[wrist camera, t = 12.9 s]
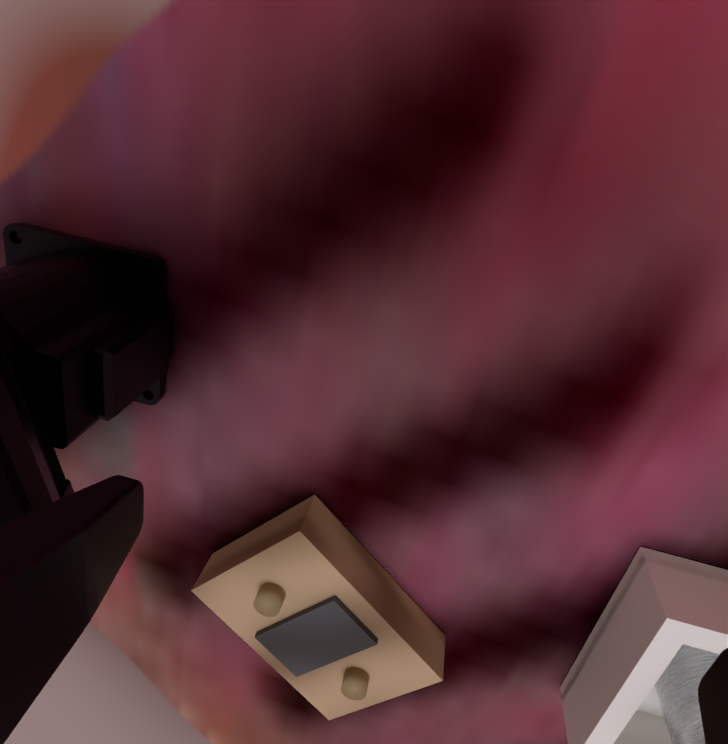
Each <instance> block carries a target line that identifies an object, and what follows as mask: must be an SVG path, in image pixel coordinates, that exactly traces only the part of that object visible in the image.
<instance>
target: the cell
mask: <svg viewBox="0 0 728 744" xmlns="http://www.w3.org/2000/svg"><path fill="white" fill-rule="evenodd" d="M719 655H720V654H717V653H713V652H709V651H706V650H702V649H699V648H695V647H692V646H688V645H684V644H682V646H681V647H680V649H679V650H678V652H677V653H676V655H675V656H674V657H673V659H672V660H671V662H670V663H669V665H668V666H667V667H666V669H665V670H664V672H663V673H662V675H661V676H660V677H659V679H658V680H657V682H656V683H655V688H656V692H657V695H658V699H659V702H660V705H661V709H662V712H663V715H664V719H665V722H666V725H667V729H668V732H669V735H670V739H671V742H672V744H705V738H704V732H703V725H702V719H701V713H700V707H699V700H698V687H699V683H700V681H701V679H702V677H703V676H704V674H705V673H706V672H707V671H708V669H709V668H710V667H711V665H712V664H713V663H714V661H715V660H716V659H717V657H718V656H719Z"/></svg>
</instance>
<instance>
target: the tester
mask: <svg viewBox="0 0 728 744" xmlns="http://www.w3.org/2000/svg"><path fill="white" fill-rule="evenodd" d="M191 591H192V592H193V593H194V594H195V595H196V596H197V597H198V598H200V599H201V600H202V601H203V602H204V603H205V604H206V605H207V606H208V607H209V608H210V609H211V610H212V611H213V612H214V613H216V614H217V615H218V616H219V617H220V618H221V619H222V620H223V621H224V622H225V623H226V624H227V625H228V626H229V627H230V628H231V629H233V630H234V631H235V632H236V633H237V634H238V635H239V636H240V637H241V638H242V639H243V640H244V641H245V642H246V643H247V644H248V645H250V646H251V647H252V648H253V649H254V650H255V651H256V652H257V653H258V654H259V655H260V656H261V657H262V658H263V659H264V660H266V661H267V662H268V663H269V664H270V665H271V666H272V667H273V668H274V669H275V670H276V671H277V672H278V673H279V674H280V675H281V676H283V677H284V678H285V679H286V680H287V681H288V682H289V683H290V684H291V685H292V686H293V687H294V688H295V689H296V690H297V691H299V692H300V693H301V694H302V695H303V696H304V697H305V698H306V699H307V700H308V701H309V702H310V703H311V704H312V705H313V706H314V707H316V708H317V709H318V710H319V711H320V712H321V713H322V714H323V715H324V716H325V717H326V718H327V719H328V720H331V719H334V718H337V717H340V716H343V715H345V714H348V713H351V712H354V711H357V710H360V709H363V708H366V707H368V706H371V705H374V704H377V703H380V702H383V701H386V700H389V699H392V698H394V697H397V696H400V695H403V694H406V693H409V692H412V691H415V690H417V689H420V688H423V687H426V686H429V685H432V684H435V683H438V682H441V681H443V668H444V651H445V635H444V634H443V633H442V631H441V630H440V629H439V628H438V627H437V626H436V625H435V624H434V623H433V622H432V621H431V620H430V619H429V617H428V616H427V615H426V614H425V613H424V612H423V611H422V610H421V609H420V608H419V607H418V606H417V604H416V603H415V602H414V601H413V600H412V599H411V598H410V597H409V596H408V595H407V594H406V593H405V592H404V590H403V589H402V588H401V587H400V586H399V585H398V584H397V583H396V582H395V581H394V580H393V579H392V577H391V576H390V575H389V574H388V573H387V572H386V571H385V570H384V569H383V568H382V567H381V566H380V564H379V563H378V562H377V561H376V560H375V559H374V558H373V557H372V556H371V555H370V554H369V553H368V552H367V550H366V549H365V548H364V547H363V546H362V545H361V544H360V543H359V542H358V541H357V540H356V539H355V537H354V536H353V535H352V534H351V533H350V532H349V531H348V530H347V529H346V528H345V527H344V526H343V525H342V523H341V522H340V521H339V520H338V519H337V518H336V517H335V516H334V515H333V514H332V513H331V512H330V510H329V509H328V508H327V507H326V506H325V505H324V504H323V503H322V502H321V501H320V500H319V499H318V497H317V496H316V495H313V496H311V497H310V498H308V499H306V500H304V501H303V502H301V503H299V504H297V505H296V506H294V507H292V508H290V509H289V510H287V511H285V512H284V513H282V514H280V515H278V516H277V517H275V518H273V519H271V520H270V521H268V522H266V523H264V524H263V525H261V526H259V527H258V528H256V529H254V530H252V531H251V532H249V533H247V534H245V535H244V536H242V537H240V538H238V539H237V540H235V541H233V542H232V543H230V544H228V545H226V546H225V547H223V548H221V549H219V550H218V551H216V552H214V553H213V554H212V556H211V558H210V559H209V561H208V563H207V564H206V566H205V568H204V569H203V571H202V573H201V575H200V576H199V578H198V580H197V581H196V583H195V585H194V587H193V588H192V590H191Z"/></svg>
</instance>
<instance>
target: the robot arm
mask: <svg viewBox="0 0 728 744" xmlns="http://www.w3.org/2000/svg"><path fill="white" fill-rule="evenodd" d="M17 232H18V234H19V235H20V236H21V240H20V239H19V238H18V236H17ZM3 236H4V245H5V253H6V262H7V266H4V267H1V268H0V744H4V742H5V741H6V740H7V738H8V737H9V735H10V734H11V733H12V731H13V730H14V728H15V727H16V725H17V724H18V723H19V721H20V720H21V718H22V717H23V715H24V714H25V713H26V711H27V710H28V708H29V707H30V705H31V704H32V703H33V702H34V700H35V699H36V697H37V696H38V694H39V693H40V692H41V690H42V689H43V687H44V686H45V685H46V683H47V682H48V680H49V679H50V678H51V676H52V674H53V673H54V672H55V670H56V669H57V668H58V666H59V665H60V663H61V662H62V661H63V659H64V657H65V656H66V655H67V654H68V652H69V651H70V649H71V648H72V646H73V645H74V644H75V642H76V641H77V639H78V638H79V637H80V635H81V634H82V632H83V631H84V629H85V628H86V626H87V625H88V623H89V622H90V620H91V618H92V617H93V615H94V613H95V612H96V610H97V608H98V606H99V605H100V603H101V601H102V599H103V598H104V596H105V594H106V592H107V591H108V589H109V587H110V585H111V584H112V582H113V580H114V578H115V576H116V575H117V573H118V571H119V569H120V568H121V566H122V564H123V562H124V561H125V559H126V557H127V555H128V553H129V552H130V550H131V548H132V546H133V545H134V543H135V541H136V539H137V538H138V536H139V534H140V531H141V529H142V525H143V505H144V490H143V485H142V483H141V482H140V481H138V480H135V479H131V478H128V477H124V476H120V475H116V476H112V477H110V478H107V479H105V480H103V481H100V482H98V483H96V484H94V485H91V486H89V487H87V488H84V489H82V490H80V491H77V492H75V493H74V490H73V488H72V485H71V482H70V481H69V480H67V479H65V476H64V473H63V471H62V468H61V466H60V463H59V460H58V458H57V455H56V453H55V450H54V447H55V448H59V449H64V448H65V447H67V446H68V445H69V444H70V443H72V442H73V441H74V440H75V439H76V438H78V437H79V436H80V435H81V434H82V433H84V432H85V431H86V430H87V429H88V428H90V427H91V426H92V425H93V424H94V423H96V422H97V421H98V420H99V419H103V420H106V421H108V420H110V419H112V418H113V417H115V416H116V415H117V414H119V413H120V412H121V411H122V410H123V409H124V408H126V407H127V406H128V405H129V404H130V403H131V402H133V401H136V402H140V403H144V404H147V405H154V404H157V403H158V402H159V401H160V400H161V399H162V398H163V396H164V378H165V373H166V372H167V371H168V366H169V327H170V317H169V315H168V313H167V312H166V286H167V269H166V265H165V263H164V261H163V260H162V259H161V258H160V257H157V256H155V255H152V254H147V253H143V252H139V251H135V250H131V249H127V248H123V247H119V246H115V245H111V244H107V243H102V242H98V241H94V240H90V239H86V238H82V237H78V236H74V235H70V234H66V233H62V232H57V231H53V230H49V229H45V228H41V227H37V226H33V225H29V224H25V223H13V224H9V225H7V226H6V227H5V228H4V232H3ZM149 264H150V265H152V266H153V267H154V268H155V272H156V273H155V274H153V273H151V272H150V270H149V267H148V265H149ZM148 390H150V391H152V392H153V394H154V396H153V395H151V394H150V393H149V392H148ZM698 700H699V707H700V713H701V719H702V725H703V732H704V738H705V744H728V648H726V649H724V650H723V651H722V652H721V653H720V655H719V656H718V657H717V659H716V660H715V661H714V663H713V664H712V665H711V667H710V668H709V669H708V671H707V672H706V673H705V674H704V676H703V677H702V679H701V681H700V683H699V687H698Z"/></svg>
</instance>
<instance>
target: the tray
mask: <svg viewBox="0 0 728 744" xmlns="http://www.w3.org/2000/svg"><path fill="white" fill-rule="evenodd" d="M682 644H684V645H688V646H692V647H695V648H699V649H702V650H706V651H709V652H713V653H717V654H720V653H721V652H722V651H723V650H724V649H726V648H728V570H726V569H722V568H719V567H715V566H711V565H707V564H704V563H700V562H696V561H693V560H689V559H685V558H681V557H678V556H674V555H670V554H666V553H663V552H659V551H655V550H652V549H648V548H644V547H640V548H639V550H638V552H637V553H636V555H635V557H634V559H633V560H632V562H631V564H630V566H629V567H628V569H627V571H626V573H625V574H624V576H623V578H622V580H621V581H620V583H619V585H618V587H617V588H616V590H615V592H614V594H613V595H612V597H611V599H610V601H609V602H608V604H607V606H606V608H605V609H604V611H603V613H602V615H601V616H600V618H599V620H598V622H597V623H596V625H595V627H594V629H593V630H592V632H591V634H590V636H589V637H588V639H587V641H586V643H585V644H584V646H583V648H582V650H581V651H580V653H579V655H578V657H577V658H576V660H575V662H574V664H573V665H572V667H571V669H570V671H569V672H568V674H567V676H566V678H565V679H564V681H563V683H562V685H561V686H560V691H561V698H562V705H563V712H564V718H565V725H566V732H567V739H568V744H672V742H671V739H670V735H669V732H668V729H667V725H666V722H665V719H664V715H663V712H662V709H661V705H660V702H659V699H658V695H657V692H656V688H655V683H656V682H657V680H658V679H659V677H660V676H661V675H662V673H663V672H664V670H665V669H666V667H667V666H668V665H669V663H670V662H671V660H672V659H673V657H674V656H675V655H676V653H677V652H678V650H679V649H680V647H681V646H682Z"/></svg>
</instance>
